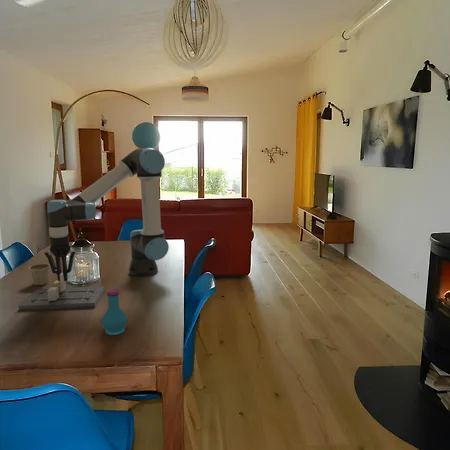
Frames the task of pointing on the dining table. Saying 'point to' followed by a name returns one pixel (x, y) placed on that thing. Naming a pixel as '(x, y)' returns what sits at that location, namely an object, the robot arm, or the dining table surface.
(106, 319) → the perfume bottle
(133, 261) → the robot arm
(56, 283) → the block
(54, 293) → the grey fader
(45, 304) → the console
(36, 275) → the flower pot
